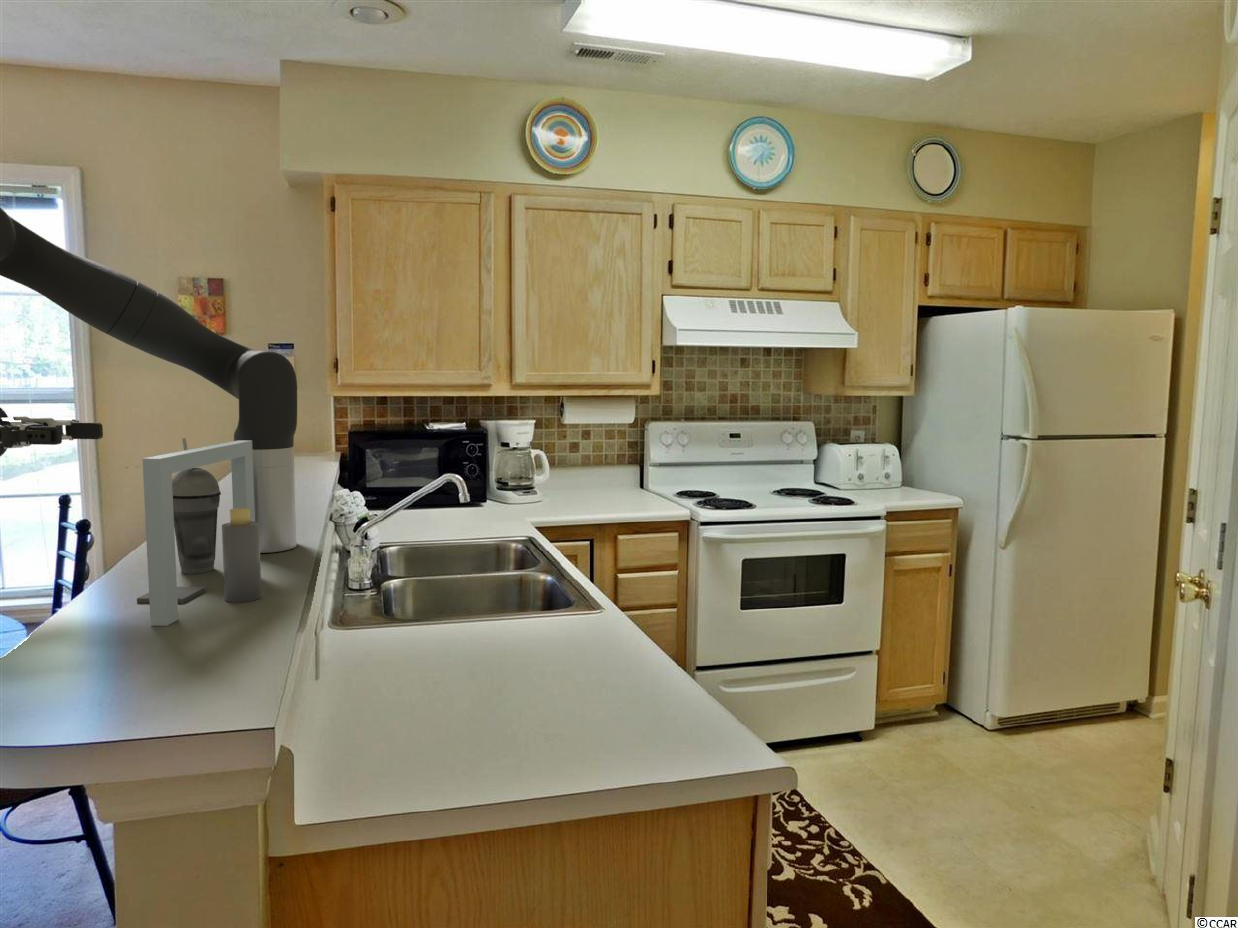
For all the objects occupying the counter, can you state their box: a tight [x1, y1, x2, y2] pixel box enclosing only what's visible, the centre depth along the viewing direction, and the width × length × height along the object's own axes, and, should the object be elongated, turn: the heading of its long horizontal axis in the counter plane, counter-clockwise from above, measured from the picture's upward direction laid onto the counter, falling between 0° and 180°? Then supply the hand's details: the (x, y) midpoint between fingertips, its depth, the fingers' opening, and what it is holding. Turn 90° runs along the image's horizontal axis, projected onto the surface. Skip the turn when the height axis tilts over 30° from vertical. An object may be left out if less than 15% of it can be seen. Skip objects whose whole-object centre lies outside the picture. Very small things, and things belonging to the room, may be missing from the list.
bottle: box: [221, 508, 262, 604], centre depth 113 cm, size 4×4×12 cm
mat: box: [136, 586, 206, 604], centre depth 114 cm, size 6×6×1 cm
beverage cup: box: [172, 437, 222, 575], centre depth 127 cm, size 7×7×20 cm
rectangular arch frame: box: [142, 440, 255, 627], centre depth 113 cm, size 25×2×20 cm, turn 0°
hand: (81, 433), depth 111 cm, fingers open, 8 cm apart
